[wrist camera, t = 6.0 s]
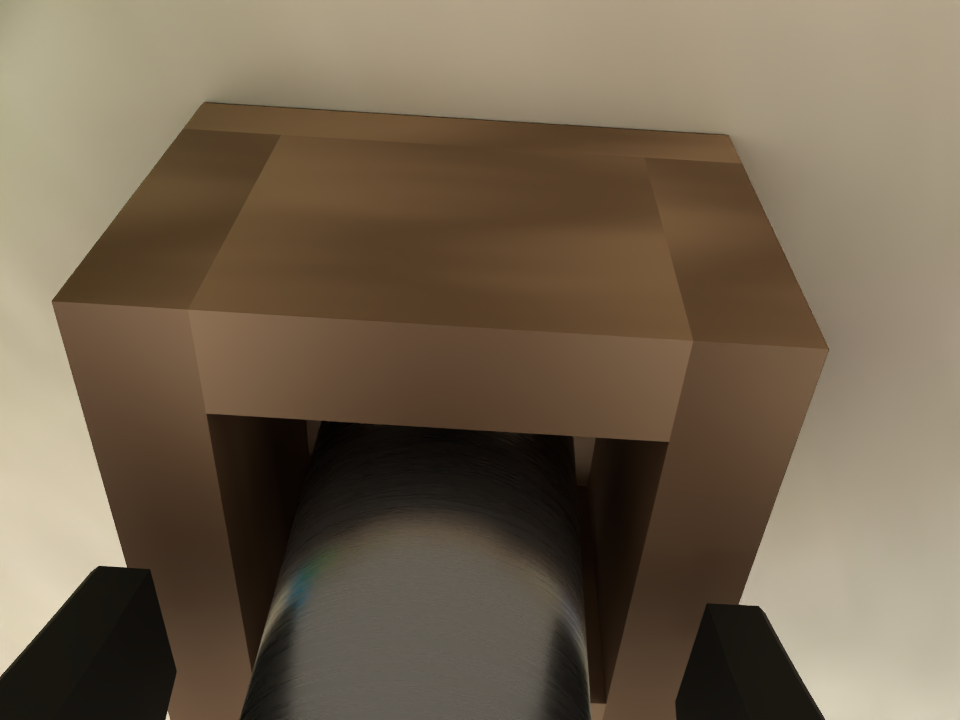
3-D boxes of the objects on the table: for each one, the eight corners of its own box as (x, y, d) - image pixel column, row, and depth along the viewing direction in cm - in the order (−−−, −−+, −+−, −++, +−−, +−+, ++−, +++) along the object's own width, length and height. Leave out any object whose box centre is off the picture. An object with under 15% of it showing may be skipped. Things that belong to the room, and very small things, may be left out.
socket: (728, 135, 14) (829, 349, 9) (644, 504, 18) (682, 759, 14) (202, 103, 14) (51, 301, 9) (255, 480, 18) (173, 729, 14)
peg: (573, 283, 14) (612, 787, 8) (567, 467, 16) (593, 964, 10) (321, 285, 14) (157, 776, 8) (352, 466, 17) (245, 953, 10)
